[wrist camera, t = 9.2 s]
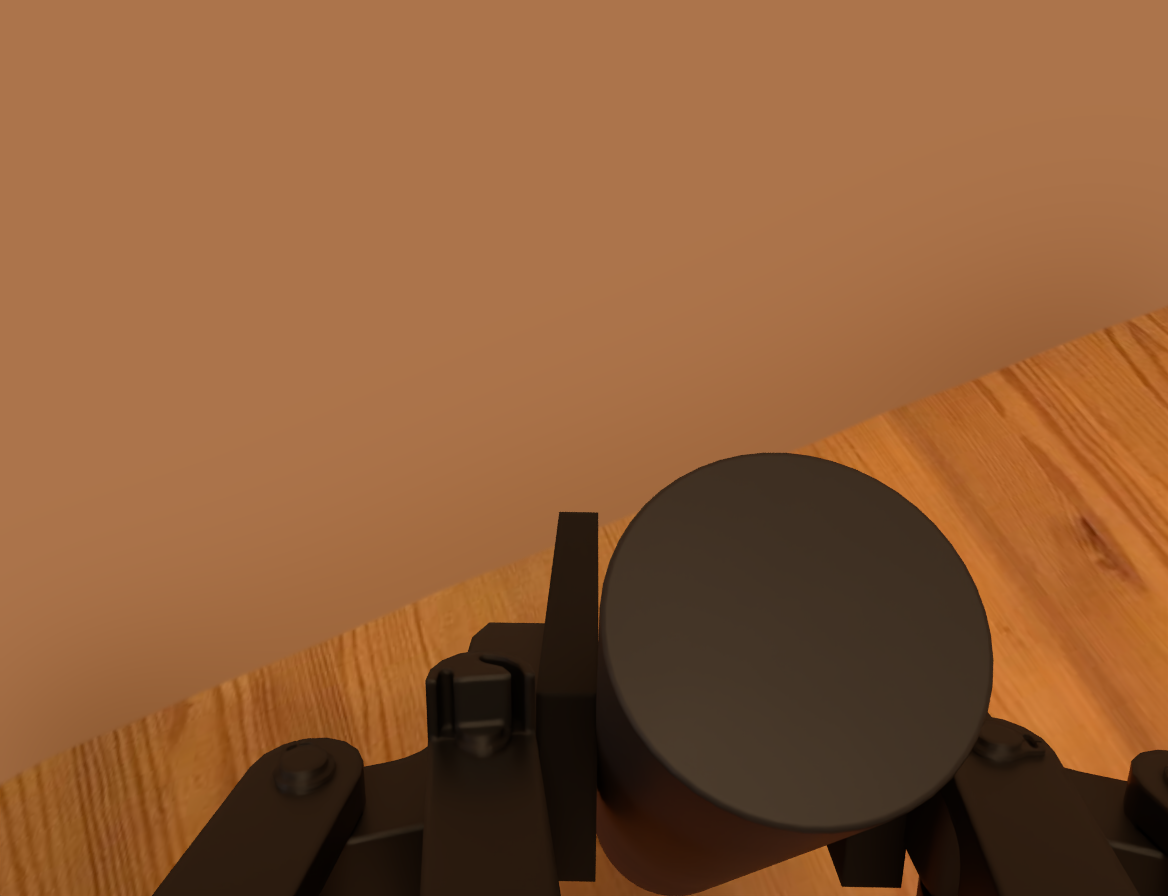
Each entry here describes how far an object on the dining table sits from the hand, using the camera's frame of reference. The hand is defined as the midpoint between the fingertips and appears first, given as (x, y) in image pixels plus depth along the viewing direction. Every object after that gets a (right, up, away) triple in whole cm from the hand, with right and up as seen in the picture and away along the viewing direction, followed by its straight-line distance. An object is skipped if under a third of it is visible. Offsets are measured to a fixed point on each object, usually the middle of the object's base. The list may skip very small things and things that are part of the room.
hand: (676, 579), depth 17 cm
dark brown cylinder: (0, -5, +2) cm, 6 cm away
